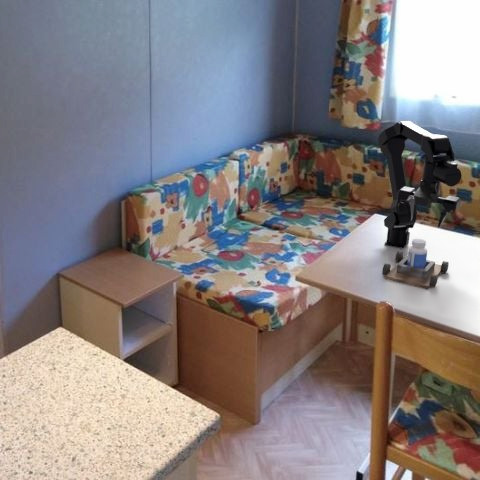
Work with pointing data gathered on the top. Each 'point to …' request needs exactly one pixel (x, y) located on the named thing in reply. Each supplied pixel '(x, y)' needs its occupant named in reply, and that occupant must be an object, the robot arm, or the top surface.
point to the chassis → (414, 272)
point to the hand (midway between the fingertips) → (424, 223)
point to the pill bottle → (417, 254)
